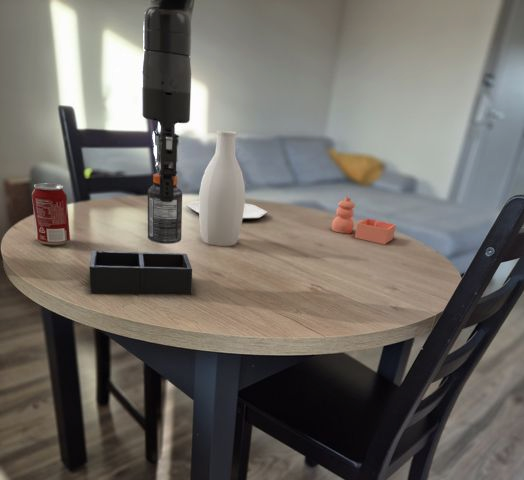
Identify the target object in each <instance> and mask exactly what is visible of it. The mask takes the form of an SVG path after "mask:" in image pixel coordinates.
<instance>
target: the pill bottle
mask: <svg viewBox="0 0 524 480" xmlns="http://www.w3.org/2000/svg"><path fill="white" fill-rule="evenodd" d="M152 178H153V179H152V182H153V184H152V185H151V186H150V187H149V188H148V189H147V238H148V240H149V241H151V242H153V243H156V244H161V245H172V244H178V243H179V242H181V240H182V231H183V230H182V223H183V191H182V190H181V189H180V188H179V187H177V185H178V176H177V175H176V177H175V179H174V190H173V201H172V202H162V201H161V200H160V177H159V173H157V172H156V173H153V175H152Z"/></svg>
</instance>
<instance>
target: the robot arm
mask: <svg viewBox="0 0 524 480" xmlns="http://www.w3.org/2000/svg"><path fill="white" fill-rule="evenodd" d="M194 6H195V0H150V5H149V6H148V7H146V9H145V12H144V15H143V56H142V65H141V66H142V67H141V88H142V89H141V115H142V117H143V118H144V119H146V120H150V121H156V122H157V128H155V131H153V132H152V141H153V146H154V147H153V155H154V156H153V157H154V159H155V161H154V162H155V168H156V171H157V172H156V173H159V177H160V200H161V201H162V202H172V201H173V190H174V179H175V177H176V176H177V174H178V171H177V164H178V162H179V151H178V148H179V145H180V136H179V134H178V133H176V128H175V126H176V124H188V123H189V122H190V120H191V97H192V96H191V95H192V94H191V93H192V66H191V65H192V64H191V53H192V52H191V51H192V19H193V18H192V16H193V12H194Z"/></svg>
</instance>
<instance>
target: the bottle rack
mask: <svg viewBox="0 0 524 480" xmlns="http://www.w3.org/2000/svg"><path fill="white" fill-rule="evenodd" d="M88 268H89V282H90V294H134V295H135V294H137V295H138V294H141V295H143V294H144V295H145V294H149V295H150V294H152V295H153V294H155V295H192V286H193V284H192V283H193V267H192V265H191V262H190V259H189V257H188V254H187V253H181V252H180V253H178V252H176V253H175V252H149V251H147V252H146V251H145V252H143V251H142V252H141V251H139V252H138V251H115V250H114V251H112V250H111V251H110V250H92V251H91V256H90V262H89V267H88Z"/></svg>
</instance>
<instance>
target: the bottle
mask: <svg viewBox="0 0 524 480" xmlns="http://www.w3.org/2000/svg"><path fill="white" fill-rule="evenodd" d="M237 133H238V132H236V131H231V130H223V129H222V130H220V129H218V130H216V144H215V153H214V155H212V158H211V159H210V161H209V162H208V165H207V166H206V168H205V170H204V172H203V176H202V178H201V183H200V186H199V187H200V188H199V193H198V200H199V214H198V219H199V231H200V239H201V240H202V242H203V243H205V244H208V245H211V246H216V247H230V246H231V247H232V246H234V245H236V244H237V243H238V240H239V236H240V232H241V227H242V224H243V220H244V219H243V211H244V204H245V203H246V188H245V187H246V185H245V180H244V176H243V172H242V169H241V166H240V164H239V162H238V159H237V157H236V139H237V137H236V136H237Z"/></svg>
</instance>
